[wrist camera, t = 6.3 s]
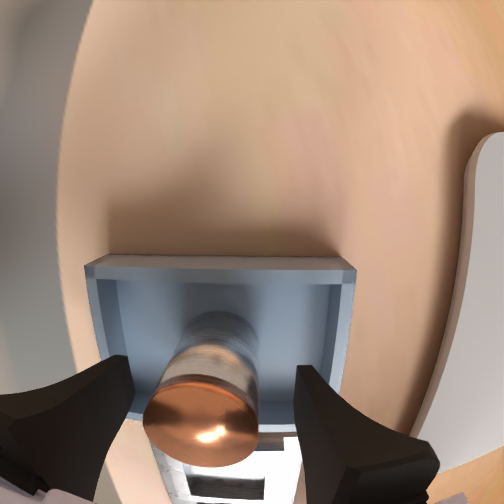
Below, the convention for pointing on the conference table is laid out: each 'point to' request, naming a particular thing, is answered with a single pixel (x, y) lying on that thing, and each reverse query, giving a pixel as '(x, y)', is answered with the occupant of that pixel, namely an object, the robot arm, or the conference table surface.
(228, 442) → the copper lid glass jar
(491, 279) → the tablet
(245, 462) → the base
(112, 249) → the conference table surface
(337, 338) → the parts tray
